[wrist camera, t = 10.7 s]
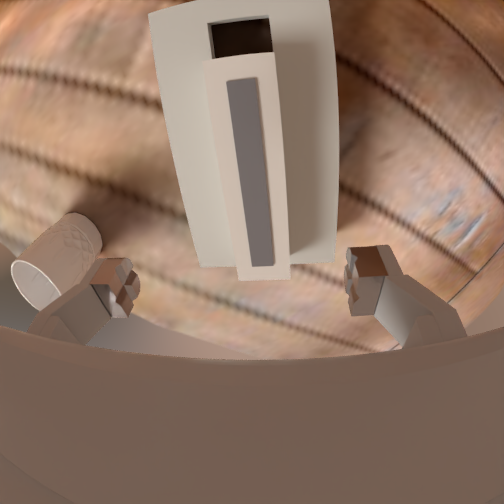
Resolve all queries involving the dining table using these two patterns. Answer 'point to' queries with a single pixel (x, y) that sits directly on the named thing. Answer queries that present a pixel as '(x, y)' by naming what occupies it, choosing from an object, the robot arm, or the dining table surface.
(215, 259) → the mounting board
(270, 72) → the cream rectangular block
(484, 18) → the dining table surface
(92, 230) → the white cup
